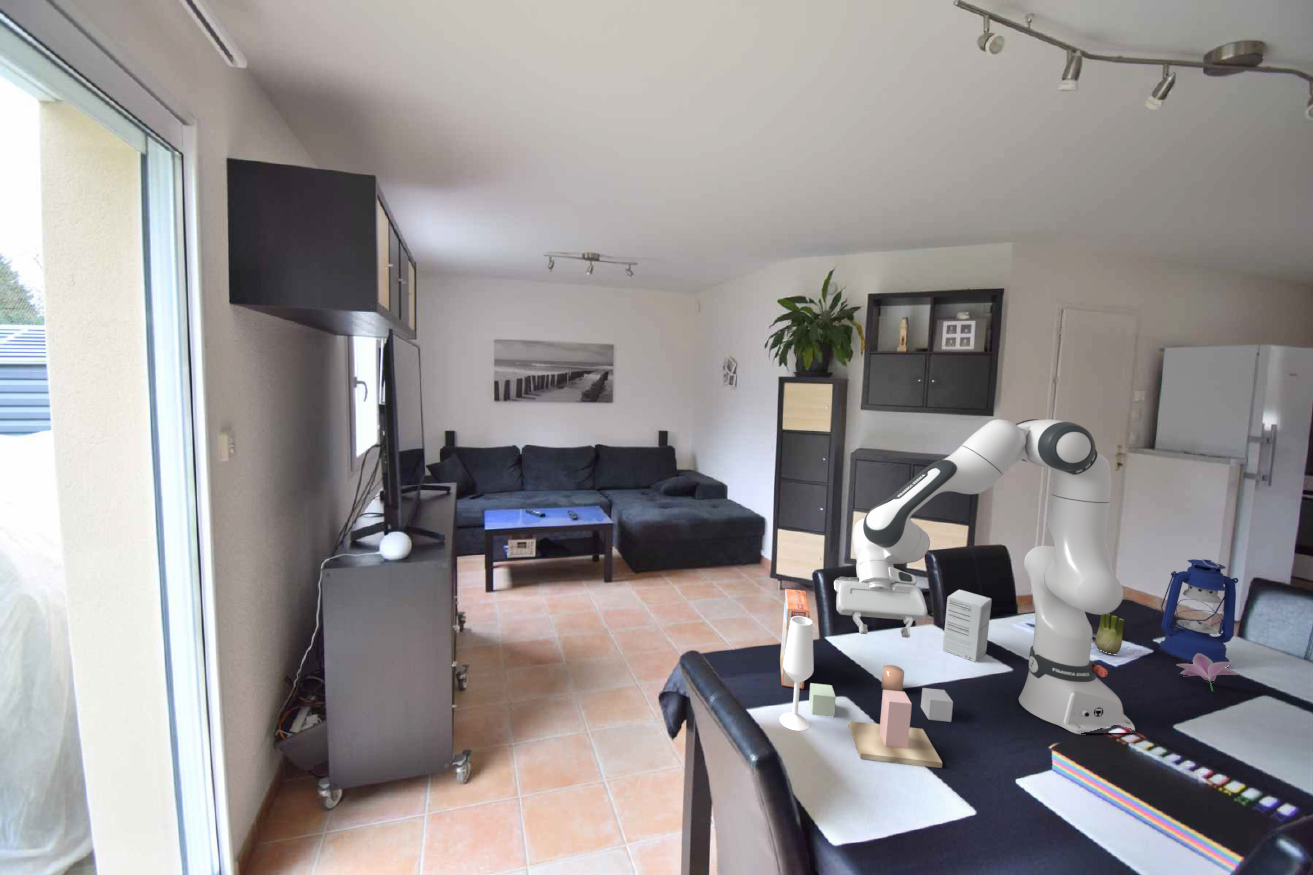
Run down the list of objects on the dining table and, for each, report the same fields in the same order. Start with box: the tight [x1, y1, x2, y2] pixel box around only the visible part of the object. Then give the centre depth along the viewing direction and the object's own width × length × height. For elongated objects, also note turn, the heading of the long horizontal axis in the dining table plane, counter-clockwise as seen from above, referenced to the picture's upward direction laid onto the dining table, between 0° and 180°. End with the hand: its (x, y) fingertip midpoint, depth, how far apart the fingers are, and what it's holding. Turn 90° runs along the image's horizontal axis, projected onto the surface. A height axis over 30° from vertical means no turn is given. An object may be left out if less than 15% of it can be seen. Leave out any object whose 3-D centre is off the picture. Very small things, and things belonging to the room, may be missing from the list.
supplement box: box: [942, 589, 992, 663], centre depth 161 cm, size 10×9×17 cm
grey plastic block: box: [920, 687, 954, 723], centre depth 129 cm, size 5×5×5 cm
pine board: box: [847, 720, 943, 769], centre depth 117 cm, size 16×11×1 cm
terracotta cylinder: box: [881, 664, 905, 692], centre depth 140 cm, size 5×5×5 cm
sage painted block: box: [808, 682, 837, 718], centre depth 129 cm, size 5×5×5 cm
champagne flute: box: [779, 616, 815, 732], centre depth 123 cm, size 7×7×24 cm
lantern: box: [1159, 559, 1239, 663], centre depth 163 cm, size 17×15×30 cm
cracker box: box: [779, 588, 811, 690], centre depth 144 cm, size 14×6×21 cm, turn 168°
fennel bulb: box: [1094, 613, 1125, 655], centre depth 164 cm, size 6×5×12 cm
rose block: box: [879, 689, 913, 749], centre depth 117 cm, size 4×4×10 cm
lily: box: [1176, 653, 1240, 692], centre depth 146 cm, size 12×12×10 cm
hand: (884, 635), depth 126 cm, fingers open, 8 cm apart
